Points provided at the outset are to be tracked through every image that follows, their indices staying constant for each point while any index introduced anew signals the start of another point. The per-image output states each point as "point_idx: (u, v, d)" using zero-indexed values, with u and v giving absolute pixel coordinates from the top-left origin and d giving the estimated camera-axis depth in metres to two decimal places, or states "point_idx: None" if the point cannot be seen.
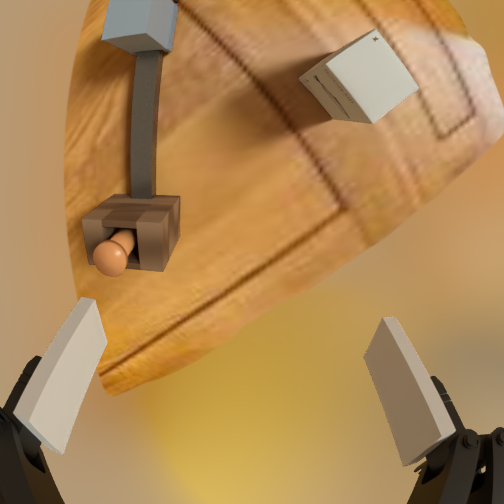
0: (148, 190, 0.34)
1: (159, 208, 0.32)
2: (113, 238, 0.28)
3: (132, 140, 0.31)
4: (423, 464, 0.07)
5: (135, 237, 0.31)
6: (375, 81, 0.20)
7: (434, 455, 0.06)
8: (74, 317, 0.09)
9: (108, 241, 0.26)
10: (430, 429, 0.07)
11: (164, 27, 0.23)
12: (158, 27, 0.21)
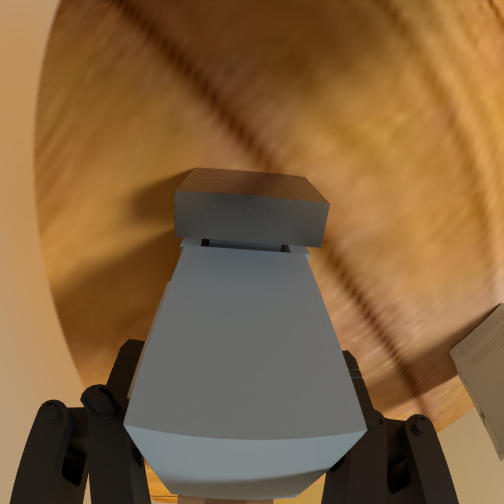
0: None
1: None
2: None
3: None
4: None
5: None
6: None
7: None
8: None
9: None
10: None
11: None
12: None
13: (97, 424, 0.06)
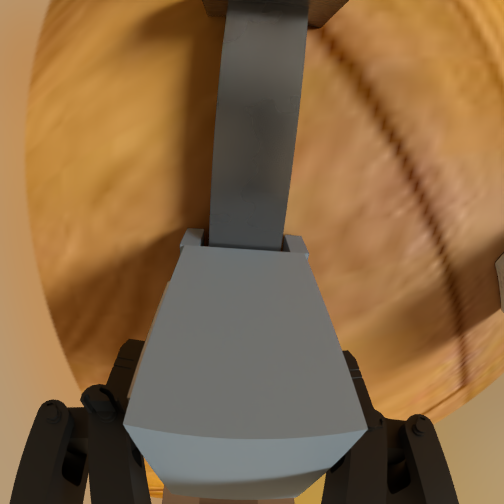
0: None
1: None
2: None
3: None
4: None
5: None
6: None
7: None
8: None
9: None
10: None
11: None
12: None
13: (97, 424, 0.06)
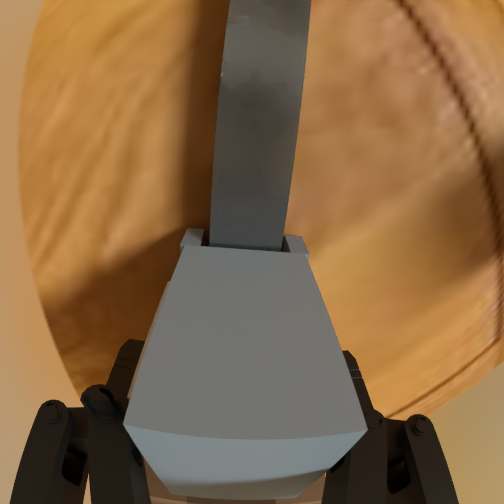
0: None
1: None
2: None
3: None
4: None
5: None
6: None
7: None
8: None
9: None
10: None
11: None
12: None
13: (97, 424, 0.06)
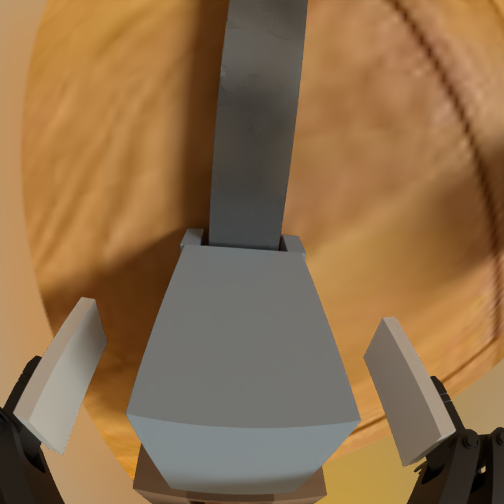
0: None
1: None
2: None
3: None
4: (423, 464, 0.07)
5: None
6: None
7: (434, 455, 0.06)
8: (74, 317, 0.09)
9: None
10: (430, 429, 0.07)
11: None
12: None
13: None
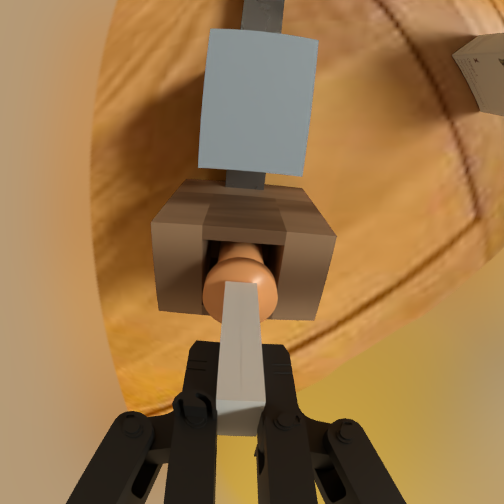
0: (260, 174, 0.21)
1: (297, 207, 0.19)
2: (236, 252, 0.16)
3: None
4: (256, 448, 0.08)
5: (261, 248, 0.18)
6: None
7: (258, 429, 0.08)
8: (231, 299, 0.12)
9: (242, 260, 0.14)
10: None
11: None
12: None
13: (184, 429, 0.06)
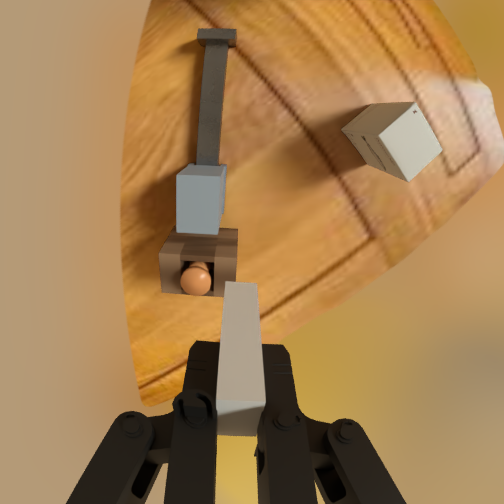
0: None
1: (227, 242, 0.39)
2: (195, 264, 0.36)
3: None
4: (256, 448, 0.08)
5: (209, 262, 0.39)
6: (412, 148, 0.27)
7: (258, 429, 0.08)
8: (231, 299, 0.12)
9: (195, 267, 0.34)
10: None
11: (221, 201, 0.37)
12: (220, 212, 0.36)
13: (184, 429, 0.06)
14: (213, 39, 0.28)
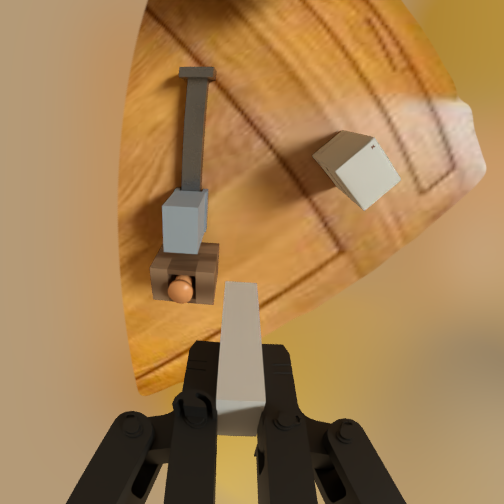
0: None
1: (208, 257, 0.45)
2: (180, 276, 0.43)
3: None
4: (256, 448, 0.08)
5: None
6: (368, 180, 0.33)
7: (258, 429, 0.08)
8: (231, 299, 0.12)
9: (180, 280, 0.41)
10: None
11: (202, 223, 0.44)
12: (200, 233, 0.42)
13: (184, 429, 0.06)
14: (193, 77, 0.34)
